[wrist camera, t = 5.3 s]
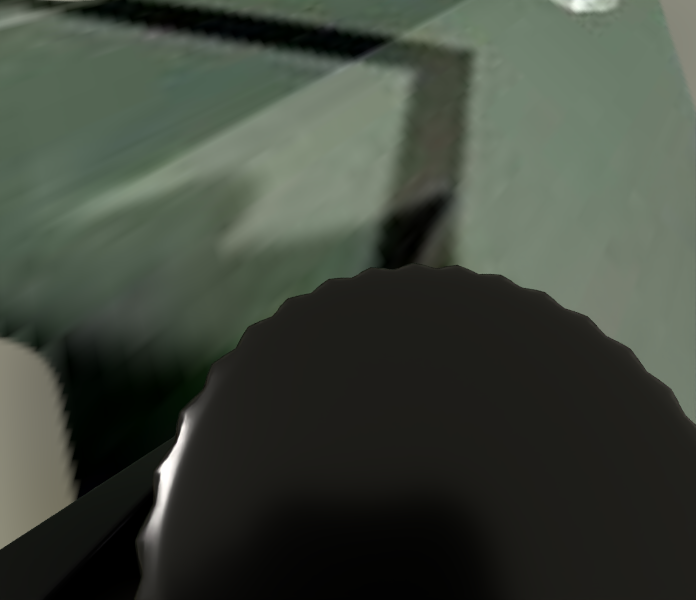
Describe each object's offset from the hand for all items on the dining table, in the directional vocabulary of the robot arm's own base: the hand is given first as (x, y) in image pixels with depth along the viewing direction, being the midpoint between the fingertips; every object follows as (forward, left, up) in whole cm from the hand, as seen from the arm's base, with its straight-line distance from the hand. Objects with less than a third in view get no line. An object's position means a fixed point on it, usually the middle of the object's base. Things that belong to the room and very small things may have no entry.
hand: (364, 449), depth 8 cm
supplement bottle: (-1, +1, -7) cm, 7 cm away
